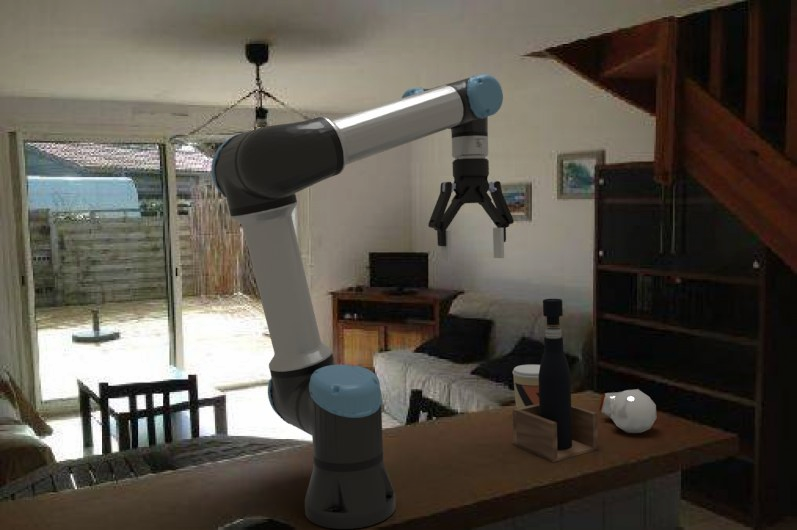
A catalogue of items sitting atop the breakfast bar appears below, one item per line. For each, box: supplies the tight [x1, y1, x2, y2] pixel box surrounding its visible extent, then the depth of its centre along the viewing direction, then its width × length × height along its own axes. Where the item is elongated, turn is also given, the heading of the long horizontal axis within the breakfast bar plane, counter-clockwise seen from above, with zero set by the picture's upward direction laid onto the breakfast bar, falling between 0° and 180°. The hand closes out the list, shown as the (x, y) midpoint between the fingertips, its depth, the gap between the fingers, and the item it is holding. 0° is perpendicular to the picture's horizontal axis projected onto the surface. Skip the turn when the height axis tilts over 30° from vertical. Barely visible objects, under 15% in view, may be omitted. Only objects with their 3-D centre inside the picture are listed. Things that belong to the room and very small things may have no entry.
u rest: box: [512, 404, 599, 463], centre depth 141 cm, size 12×12×8 cm
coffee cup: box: [512, 364, 540, 409], centre depth 160 cm, size 9×9×12 cm
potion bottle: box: [598, 388, 658, 434], centre depth 151 cm, size 9×10×15 cm
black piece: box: [539, 298, 572, 450], centre depth 140 cm, size 6×6×30 cm
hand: (473, 260), depth 145 cm, fingers open, 13 cm apart
